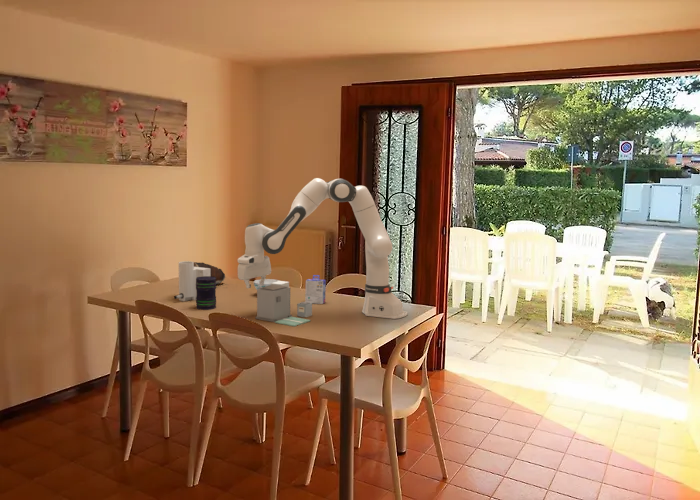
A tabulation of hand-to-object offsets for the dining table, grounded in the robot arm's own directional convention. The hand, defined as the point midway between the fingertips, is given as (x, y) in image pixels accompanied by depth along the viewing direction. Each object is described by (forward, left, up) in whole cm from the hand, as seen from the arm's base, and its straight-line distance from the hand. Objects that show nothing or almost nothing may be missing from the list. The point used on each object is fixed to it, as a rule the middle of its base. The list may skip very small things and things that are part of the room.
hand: (255, 286), depth 284 cm
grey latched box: (-12, 0, -13) cm, 18 cm away
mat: (-24, +1, -13) cm, 27 cm away
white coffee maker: (+49, -3, -14) cm, 51 cm away
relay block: (-21, -12, -14) cm, 27 cm away
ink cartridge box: (-8, -39, -14) cm, 42 cm away
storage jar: (+28, +4, -14) cm, 32 cm away
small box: (-1, -18, -14) cm, 22 cm away
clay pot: (+69, -37, -14) cm, 80 cm away
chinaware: (+24, -38, -14) cm, 47 cm away
